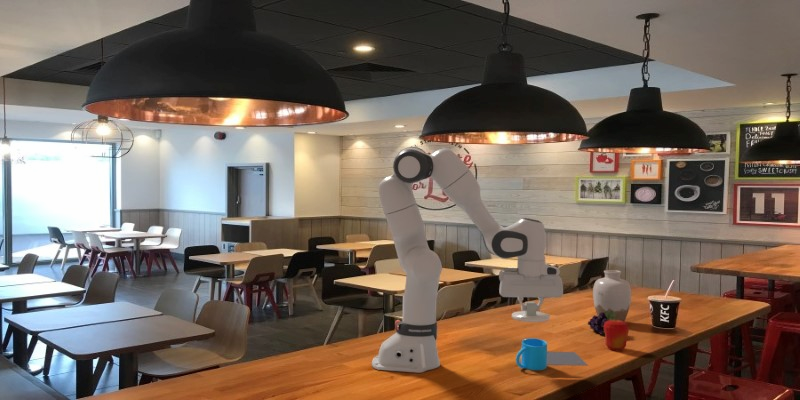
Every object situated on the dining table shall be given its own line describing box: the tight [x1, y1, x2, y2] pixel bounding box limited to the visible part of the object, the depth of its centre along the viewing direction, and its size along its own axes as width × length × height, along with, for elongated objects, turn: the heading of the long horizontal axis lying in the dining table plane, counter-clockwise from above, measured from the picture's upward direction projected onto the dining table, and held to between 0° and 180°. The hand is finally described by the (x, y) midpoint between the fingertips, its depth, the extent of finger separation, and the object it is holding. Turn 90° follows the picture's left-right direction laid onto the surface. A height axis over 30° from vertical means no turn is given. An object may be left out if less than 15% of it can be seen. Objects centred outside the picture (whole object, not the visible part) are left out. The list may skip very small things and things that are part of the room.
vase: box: [592, 269, 632, 322], centre depth 268 cm, size 16×16×23 cm
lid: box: [511, 301, 550, 323], centre depth 199 cm, size 12×12×5 cm
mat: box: [547, 351, 588, 366], centre depth 211 cm, size 16×16×1 cm
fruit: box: [587, 310, 617, 336], centre depth 248 cm, size 10×11×15 cm
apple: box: [604, 320, 630, 352], centre depth 225 cm, size 9×8×12 cm
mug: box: [515, 337, 548, 371], centre depth 199 cm, size 12×8×8 cm
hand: (530, 310), depth 199 cm, fingers closed on lid, 3 cm apart
